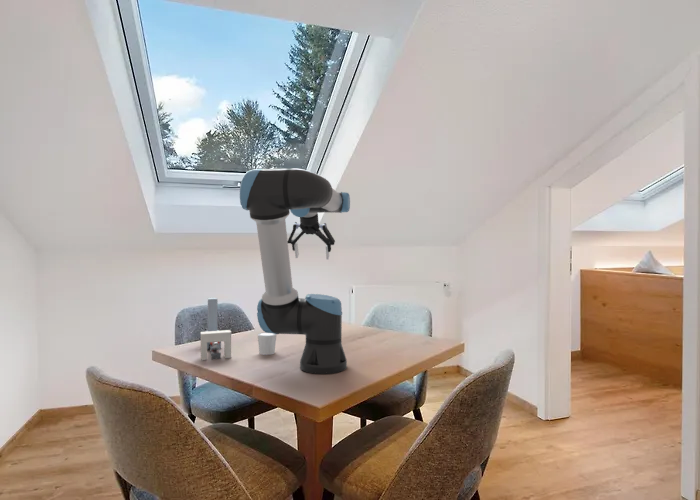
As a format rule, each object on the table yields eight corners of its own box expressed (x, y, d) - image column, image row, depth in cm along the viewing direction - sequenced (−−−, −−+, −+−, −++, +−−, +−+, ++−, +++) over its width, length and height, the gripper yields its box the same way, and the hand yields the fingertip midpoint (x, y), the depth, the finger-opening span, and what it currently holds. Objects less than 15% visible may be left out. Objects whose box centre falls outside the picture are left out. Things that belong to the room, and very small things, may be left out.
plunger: (221, 351, 151) (221, 342, 151) (211, 352, 150) (211, 343, 150) (219, 346, 159) (219, 337, 159) (210, 346, 158) (210, 338, 158)
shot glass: (253, 352, 159) (253, 333, 159) (269, 349, 164) (269, 331, 164) (264, 356, 155) (264, 336, 154) (280, 352, 159) (280, 333, 159)
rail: (220, 358, 151) (220, 352, 151) (211, 359, 150) (211, 353, 150) (216, 343, 173) (216, 338, 173) (208, 344, 172) (208, 339, 172)
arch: (231, 357, 152) (231, 332, 152) (200, 360, 149) (201, 334, 148) (230, 355, 156) (230, 330, 156) (200, 357, 152) (200, 331, 152)
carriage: (220, 348, 165) (221, 301, 165) (206, 349, 163) (206, 301, 163) (219, 342, 176) (219, 297, 175) (205, 343, 174) (205, 298, 173)
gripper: (340, 210, 180) (341, 253, 191) (281, 208, 183) (286, 251, 194) (337, 218, 174) (339, 263, 185) (276, 216, 177) (282, 260, 188)
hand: (312, 257), depth 189 cm, fingers open, 13 cm apart
